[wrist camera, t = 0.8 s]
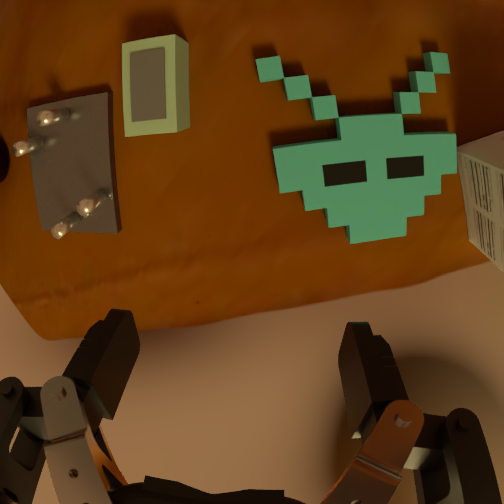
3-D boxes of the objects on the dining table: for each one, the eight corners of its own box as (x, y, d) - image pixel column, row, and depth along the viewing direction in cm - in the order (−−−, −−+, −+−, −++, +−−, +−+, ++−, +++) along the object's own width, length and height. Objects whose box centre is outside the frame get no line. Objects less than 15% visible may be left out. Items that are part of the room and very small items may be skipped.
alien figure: (256, 62, 26) (288, 243, 35) (255, 59, 24) (289, 252, 33) (437, 55, 24) (445, 221, 33) (447, 53, 22) (453, 228, 31)
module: (142, 50, 25) (120, 43, 21) (189, 43, 25) (174, 33, 20) (144, 130, 30) (123, 137, 25) (190, 127, 29) (176, 132, 25)
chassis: (32, 107, 27) (5, 112, 23) (112, 92, 27) (88, 92, 23) (46, 226, 35) (24, 243, 30) (121, 229, 35) (102, 249, 30)
